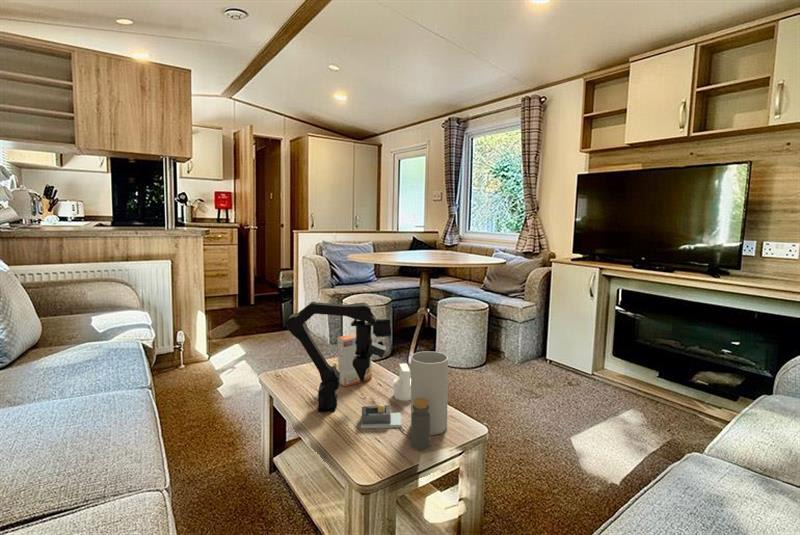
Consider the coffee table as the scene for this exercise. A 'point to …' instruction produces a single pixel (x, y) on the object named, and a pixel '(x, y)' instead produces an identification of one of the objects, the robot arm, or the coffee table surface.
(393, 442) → the coffee table surface
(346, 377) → the cracker box
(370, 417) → the link
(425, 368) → the cylinder vase
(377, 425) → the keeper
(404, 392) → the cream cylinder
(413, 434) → the bottle
